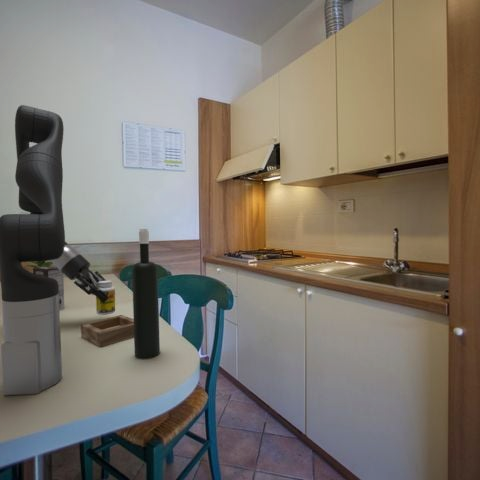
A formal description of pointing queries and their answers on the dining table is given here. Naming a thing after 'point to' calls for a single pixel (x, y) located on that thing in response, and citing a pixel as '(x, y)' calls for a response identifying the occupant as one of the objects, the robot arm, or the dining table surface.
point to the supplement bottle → (109, 304)
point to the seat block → (108, 330)
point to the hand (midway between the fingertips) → (109, 298)
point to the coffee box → (55, 274)
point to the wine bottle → (145, 302)
